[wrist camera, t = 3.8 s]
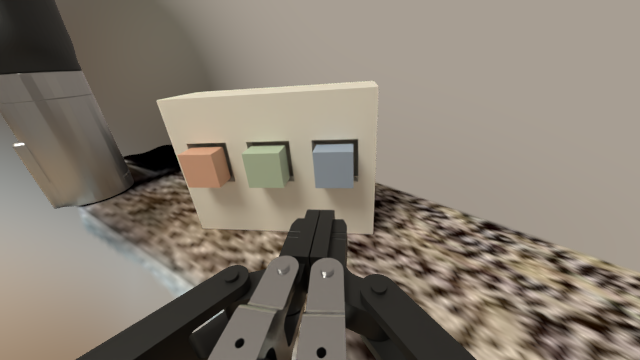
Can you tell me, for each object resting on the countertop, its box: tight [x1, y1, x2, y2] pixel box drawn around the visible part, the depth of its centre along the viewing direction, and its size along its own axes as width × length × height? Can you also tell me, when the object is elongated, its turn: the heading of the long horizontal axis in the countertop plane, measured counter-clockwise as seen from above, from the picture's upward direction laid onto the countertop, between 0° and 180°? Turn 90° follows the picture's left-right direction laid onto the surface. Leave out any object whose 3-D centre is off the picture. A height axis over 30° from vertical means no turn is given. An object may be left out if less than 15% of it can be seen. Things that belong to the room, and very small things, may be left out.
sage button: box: [242, 145, 290, 188], centre depth 21 cm, size 2×3×3 cm, turn 82°
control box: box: [157, 81, 379, 234], centre depth 25 cm, size 6×19×14 cm, turn 82°
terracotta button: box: [177, 147, 231, 188], centre depth 22 cm, size 2×3×3 cm, turn 82°
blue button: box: [312, 144, 354, 188], centre depth 20 cm, size 2×3×3 cm, turn 82°
